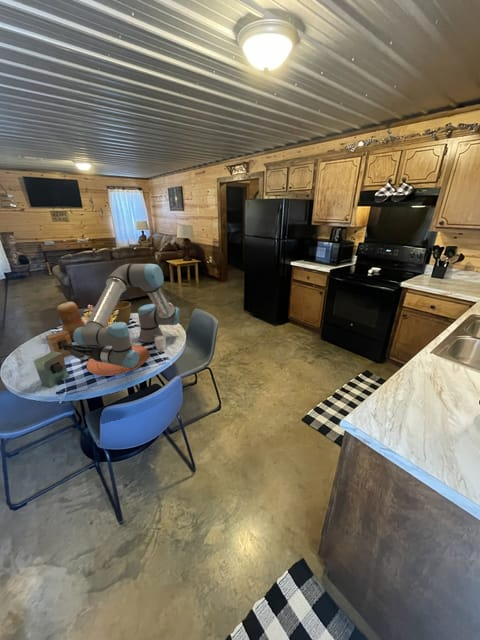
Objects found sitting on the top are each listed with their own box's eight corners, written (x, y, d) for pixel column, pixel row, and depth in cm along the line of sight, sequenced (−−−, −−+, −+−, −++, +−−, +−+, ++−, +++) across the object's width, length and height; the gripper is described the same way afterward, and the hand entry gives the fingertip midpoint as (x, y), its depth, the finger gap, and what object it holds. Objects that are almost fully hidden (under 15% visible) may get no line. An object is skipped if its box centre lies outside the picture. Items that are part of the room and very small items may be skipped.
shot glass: (168, 345, 169) (167, 336, 166) (162, 350, 163) (161, 340, 160) (159, 344, 171) (158, 334, 168) (153, 349, 165) (151, 339, 162)
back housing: (74, 352, 161) (69, 332, 155) (57, 359, 153) (50, 338, 147) (69, 350, 164) (63, 329, 158) (52, 357, 156) (45, 336, 150)
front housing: (68, 375, 138) (61, 352, 133) (51, 387, 129) (42, 363, 124) (60, 374, 140) (52, 351, 134) (42, 385, 131) (33, 361, 126)
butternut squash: (65, 335, 183) (55, 301, 173) (87, 331, 189) (78, 298, 179) (64, 343, 172) (54, 307, 162) (87, 338, 178) (78, 304, 168)
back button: (69, 347, 155) (67, 341, 153) (62, 349, 152) (60, 343, 150) (66, 345, 157) (64, 339, 155) (59, 348, 153) (57, 342, 152)
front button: (64, 370, 133) (61, 363, 131) (56, 374, 129) (54, 367, 128) (59, 369, 134) (57, 362, 132) (51, 373, 130) (49, 366, 128)
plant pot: (119, 320, 207) (115, 301, 201) (137, 321, 206) (134, 301, 200) (108, 328, 194) (104, 307, 187) (128, 329, 192) (124, 308, 186)
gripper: (96, 369, 112) (54, 360, 118) (117, 354, 123) (78, 347, 130) (92, 354, 109) (49, 345, 115) (114, 340, 120) (74, 333, 127)
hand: (64, 346), depth 122 cm, fingers closed
